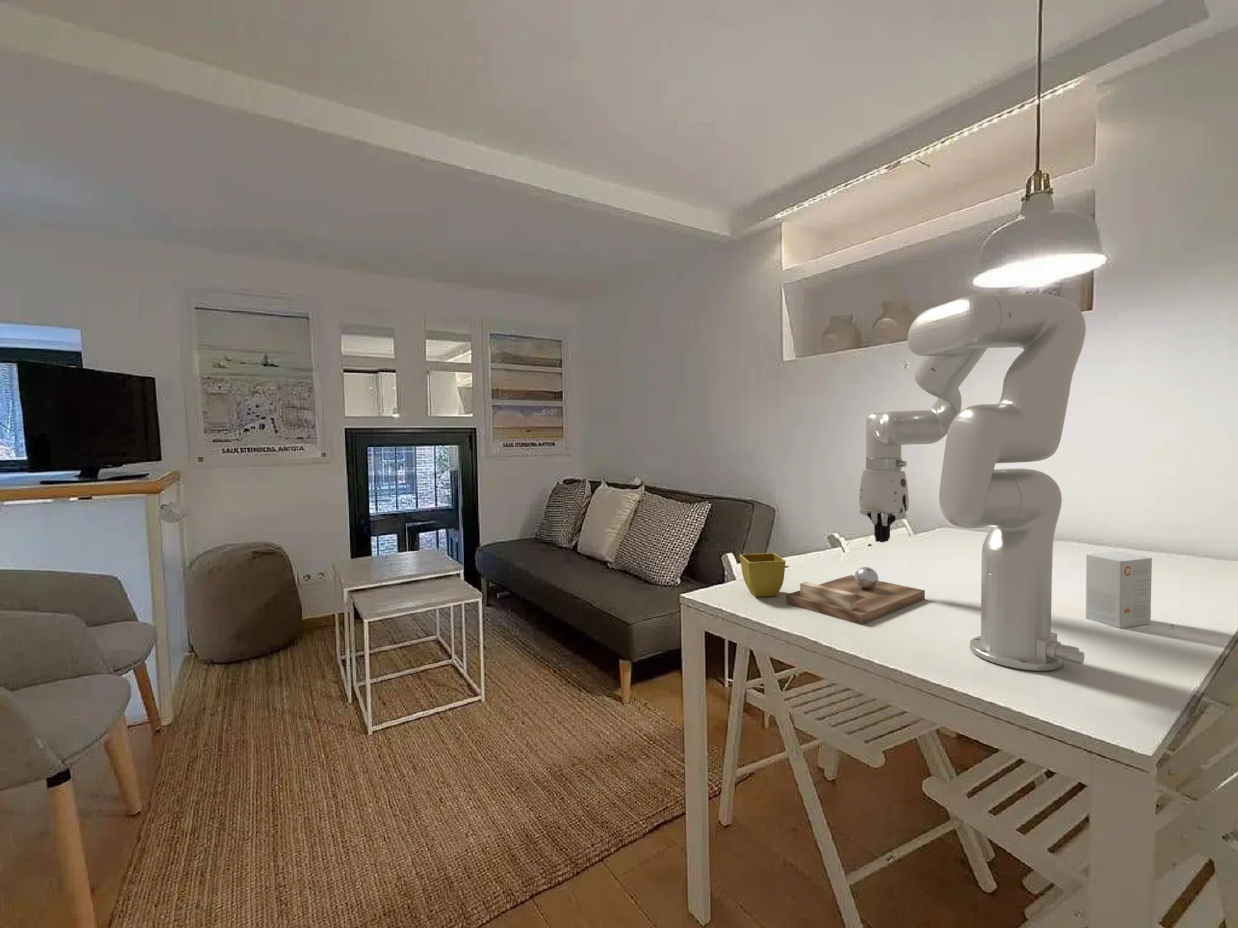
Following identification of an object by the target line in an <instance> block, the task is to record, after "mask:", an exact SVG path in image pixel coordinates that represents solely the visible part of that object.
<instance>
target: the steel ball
mask: <svg viewBox="0 0 1238 928" xmlns="http://www.w3.org/2000/svg"><path fill="white" fill-rule="evenodd" d="M854 576H855V581H856V583H857V585H858V586H860V587H861V588H863V589H872V588H874V587H875V586H876V585H877V583H878V581H879V575H878V573H877V571H876V570H874V569H873V568H872V567H869V566H868V567H867V566H864V567H860V568H859V569H857V570H856V572H855V574H854Z"/></svg>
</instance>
